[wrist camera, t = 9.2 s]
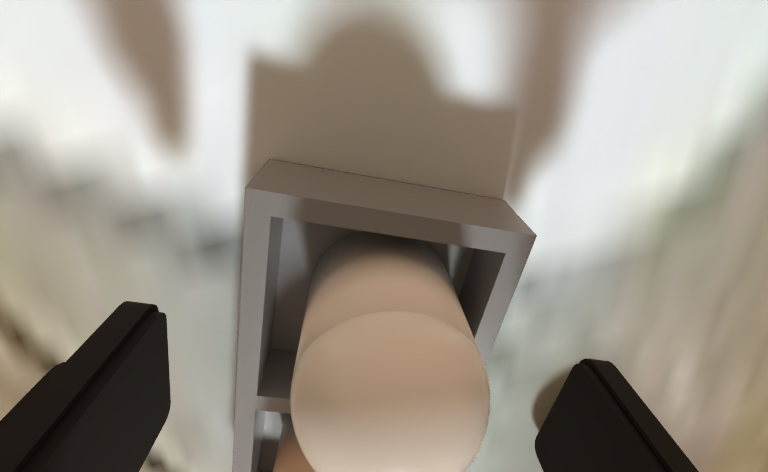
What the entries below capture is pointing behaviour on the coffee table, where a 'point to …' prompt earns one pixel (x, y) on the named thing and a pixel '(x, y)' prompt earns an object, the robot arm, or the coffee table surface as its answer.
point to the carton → (306, 247)
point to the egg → (387, 363)
